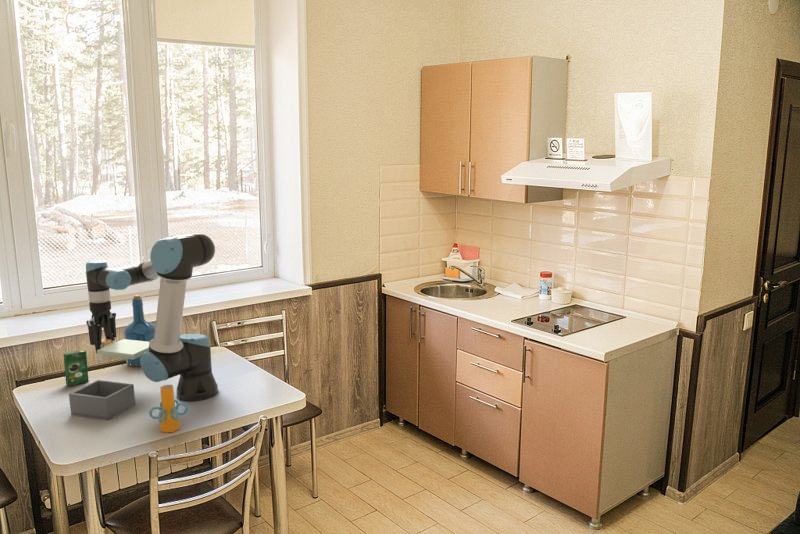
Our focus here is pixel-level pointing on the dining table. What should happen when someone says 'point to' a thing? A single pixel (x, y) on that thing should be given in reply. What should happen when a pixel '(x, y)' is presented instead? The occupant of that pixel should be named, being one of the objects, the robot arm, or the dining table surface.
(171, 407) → the orange post with rings
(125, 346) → the lid
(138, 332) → the wine bottle
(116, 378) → the dining table surface
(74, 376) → the coffee box
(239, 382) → the dining table surface
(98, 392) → the tub
